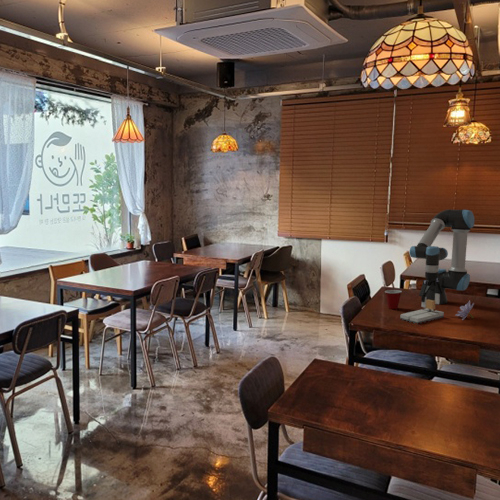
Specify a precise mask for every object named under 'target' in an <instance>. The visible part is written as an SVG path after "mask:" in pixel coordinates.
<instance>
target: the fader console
mask: <svg viewBox="0 0 500 500" xmlns="http://www.w3.org/2000/svg"><path fill="white" fill-rule="evenodd" d="M444 314H445V312H444V311H439V310H435V309H433V310H432V309H431V312H429V309H427V308H421V309H418V310H414V311H408V312H404V313H401V314H400V317H399V320H400V319H402V320H401V321H404V320H406V321H405V322H407V321H409V322H408V323H411V322H413V323H412V324H415V323H417V324H416V325H419V324H418V323H420V324H423V323H422V322H424V323H427V322H426V321H428V322H430V321H431V320H432V321H434V319H435V320H438V319H443V318H444V317H445V315H444Z"/></svg>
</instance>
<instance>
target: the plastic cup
mask: <svg viewBox="0 0 500 500" xmlns="http://www.w3.org/2000/svg"><path fill="white" fill-rule="evenodd" d="M384 293H385V295H386V301H387V308H388V309H389V308H391V309H390V310H393V309H395V310H398V308H399V303H400V301H401V300H400V299H401V294H402V290H399V289H387V290H385V291H384Z"/></svg>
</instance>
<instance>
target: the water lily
mask: <svg viewBox="0 0 500 500" xmlns="http://www.w3.org/2000/svg"><path fill="white" fill-rule="evenodd" d="M474 305H475V302H472V304H471V300H469V301H468V302H467V303H466V304H465V305H460V307H459V309H460V310H457V312H456V314H455V316H457V317H460V318H461V320H462V321H464V320H465V319H466V318H467V316H468V315H469V316H470V317H471V318H472V319H474V316H473V315H472V314H471V313H470V312H471V310H472V309H473V307H474Z"/></svg>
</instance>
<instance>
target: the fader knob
mask: <svg viewBox="0 0 500 500" xmlns="http://www.w3.org/2000/svg"><path fill="white" fill-rule="evenodd" d="M435 303H436V301H433V300H429V299H428V300H426V308H427V309H429V312H431V309H432V310H436V304H435Z"/></svg>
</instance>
